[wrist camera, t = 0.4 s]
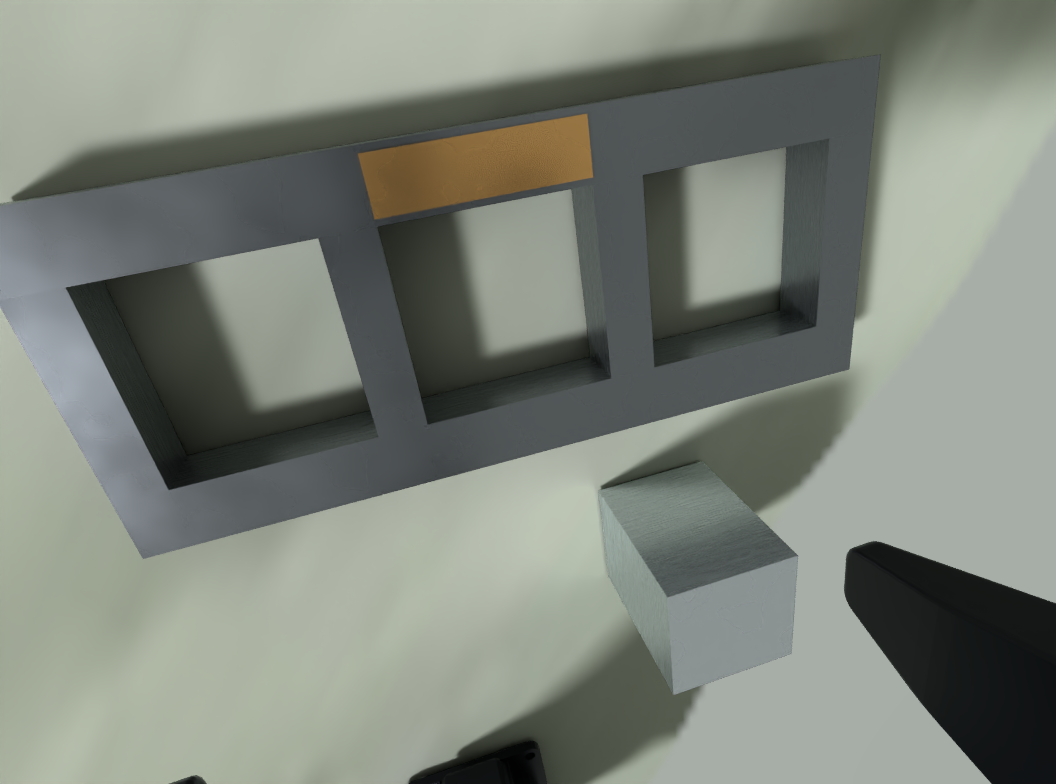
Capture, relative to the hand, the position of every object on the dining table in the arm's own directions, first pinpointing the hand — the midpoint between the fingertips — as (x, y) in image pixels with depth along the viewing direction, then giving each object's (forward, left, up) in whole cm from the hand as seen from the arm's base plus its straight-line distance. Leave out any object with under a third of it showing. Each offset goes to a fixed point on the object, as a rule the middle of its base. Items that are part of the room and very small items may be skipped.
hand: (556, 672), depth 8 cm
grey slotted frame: (+1, -2, -13) cm, 13 cm away
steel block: (-10, -7, -13) cm, 18 cm away
